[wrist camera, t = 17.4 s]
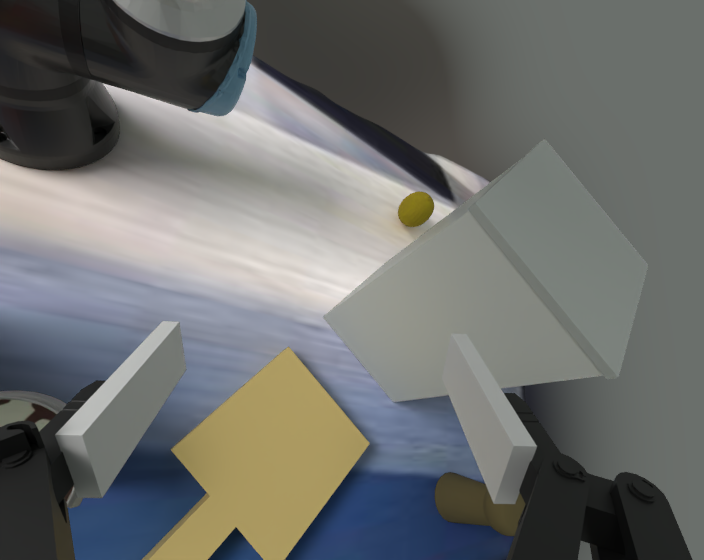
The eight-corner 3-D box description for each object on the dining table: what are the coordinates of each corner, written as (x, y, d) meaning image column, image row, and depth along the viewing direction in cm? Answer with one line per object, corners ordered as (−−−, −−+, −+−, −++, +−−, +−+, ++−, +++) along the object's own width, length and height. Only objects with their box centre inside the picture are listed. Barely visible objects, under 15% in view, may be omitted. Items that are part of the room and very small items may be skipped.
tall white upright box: (393, 404, 49) (618, 377, 25) (321, 316, 49) (475, 203, 25) (446, 334, 59) (648, 265, 34) (386, 260, 59) (544, 138, 34)
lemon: (395, 203, 65) (421, 177, 59) (418, 220, 66) (445, 197, 60) (386, 222, 62) (412, 197, 56) (409, 239, 63) (438, 217, 57)
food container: (135, 423, 35) (126, 421, 27) (96, 490, 32) (73, 511, 24) (1, 379, 32) (-56, 361, 24) (-57, 449, 29) (-144, 456, 21)
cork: (436, 524, 46) (502, 547, 37) (433, 472, 48) (494, 482, 39) (470, 520, 48) (540, 541, 39) (465, 471, 51) (530, 480, 42)
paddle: (171, 692, 30) (172, 718, 27) (52, 552, 30) (40, 564, 27) (360, 443, 45) (373, 443, 43) (282, 350, 45) (290, 345, 43)
